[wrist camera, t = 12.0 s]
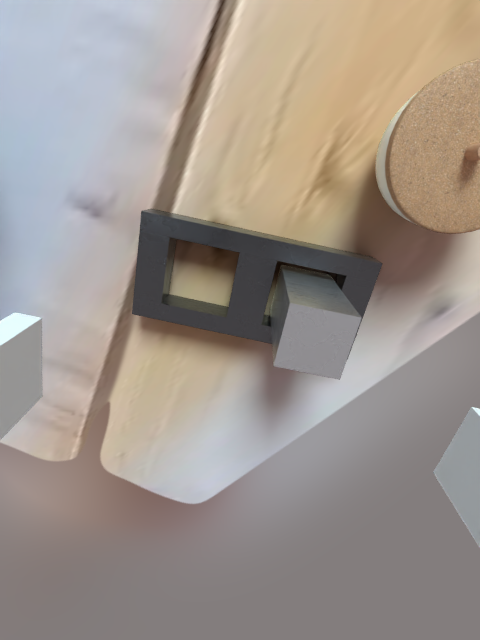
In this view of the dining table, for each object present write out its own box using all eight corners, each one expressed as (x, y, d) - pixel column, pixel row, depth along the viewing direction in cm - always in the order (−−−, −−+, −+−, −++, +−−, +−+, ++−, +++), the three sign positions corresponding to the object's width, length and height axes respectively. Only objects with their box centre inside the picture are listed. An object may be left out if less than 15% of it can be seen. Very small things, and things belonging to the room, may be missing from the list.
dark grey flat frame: (141, 304, 37) (132, 314, 34) (151, 208, 33) (141, 210, 30) (340, 346, 37) (347, 359, 35) (372, 256, 34) (382, 263, 31)
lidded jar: (510, 104, 28) (619, 69, 20) (453, 234, 32) (524, 252, 24) (384, 75, 28) (439, 27, 20) (343, 209, 32) (374, 218, 24)
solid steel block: (269, 310, 36) (273, 366, 25) (281, 264, 34) (290, 303, 23) (316, 319, 36) (339, 379, 25) (329, 274, 35) (361, 317, 23)
